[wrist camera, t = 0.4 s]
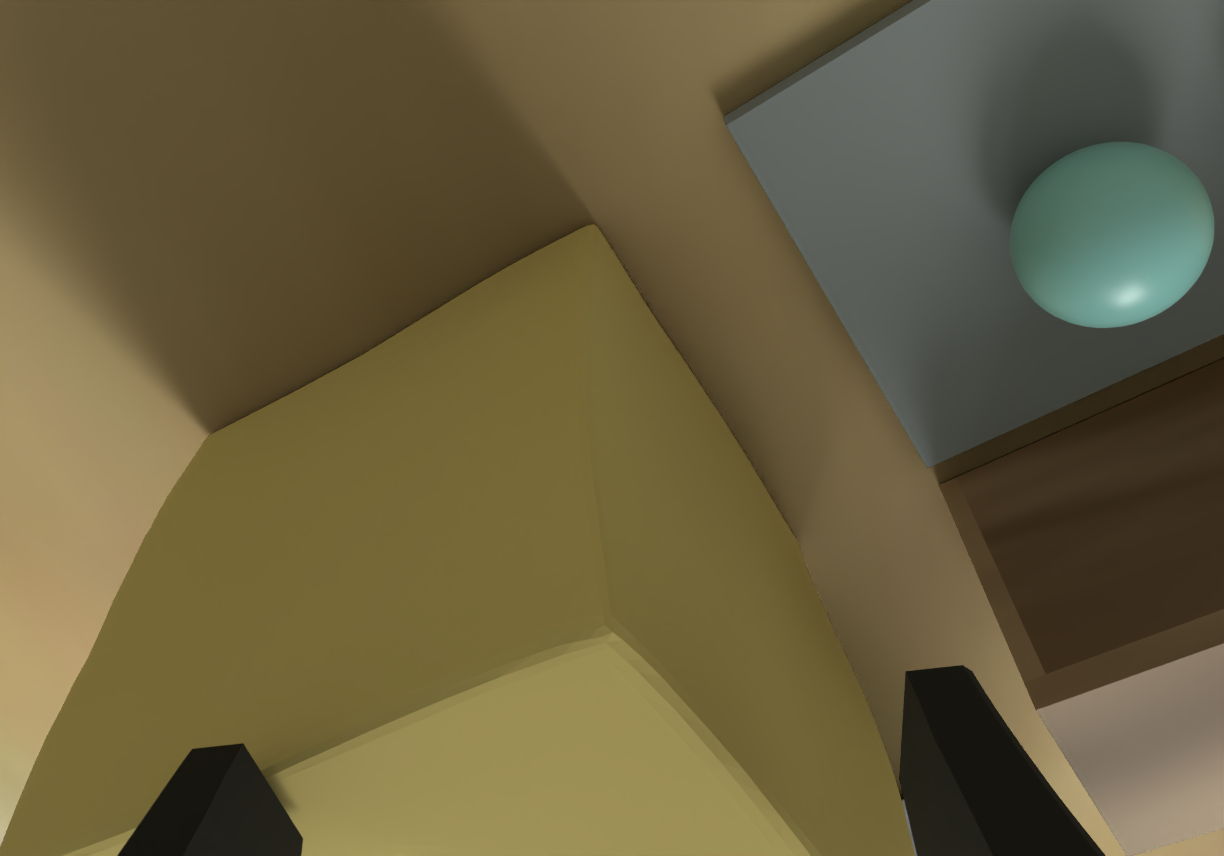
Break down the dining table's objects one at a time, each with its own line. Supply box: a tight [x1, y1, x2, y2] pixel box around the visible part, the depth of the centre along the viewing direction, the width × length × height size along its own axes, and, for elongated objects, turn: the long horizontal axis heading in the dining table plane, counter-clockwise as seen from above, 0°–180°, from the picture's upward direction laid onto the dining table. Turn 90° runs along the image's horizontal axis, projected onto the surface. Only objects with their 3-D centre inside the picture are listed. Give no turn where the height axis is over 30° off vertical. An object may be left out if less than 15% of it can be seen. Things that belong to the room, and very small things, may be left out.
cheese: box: [0, 224, 915, 856], centre depth 18 cm, size 10×11×10 cm
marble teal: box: [1010, 142, 1214, 328], centre depth 16 cm, size 3×3×3 cm
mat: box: [724, 0, 1224, 468], centre depth 17 cm, size 9×13×1 cm
